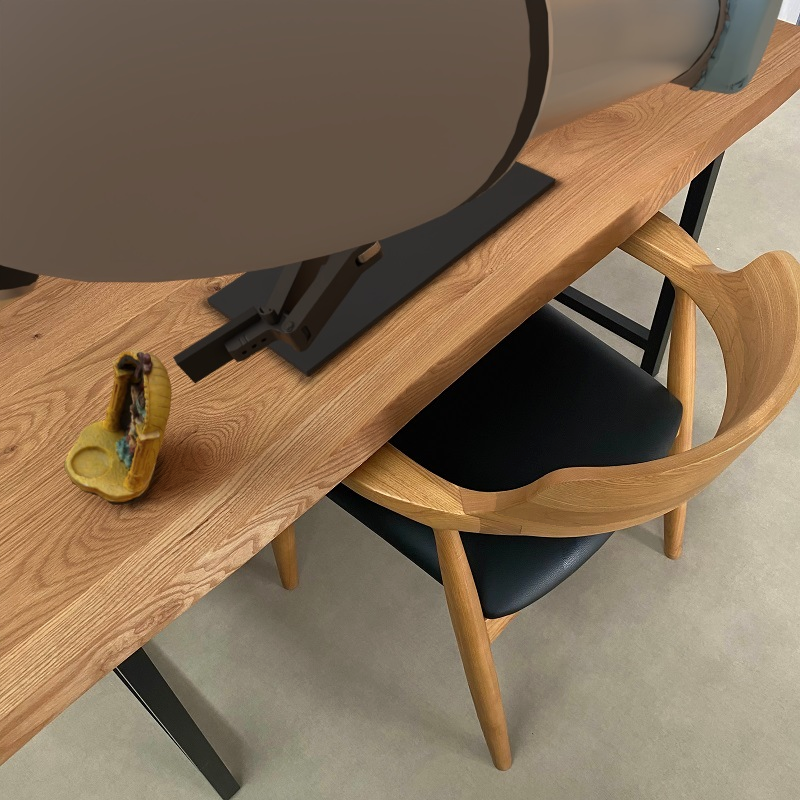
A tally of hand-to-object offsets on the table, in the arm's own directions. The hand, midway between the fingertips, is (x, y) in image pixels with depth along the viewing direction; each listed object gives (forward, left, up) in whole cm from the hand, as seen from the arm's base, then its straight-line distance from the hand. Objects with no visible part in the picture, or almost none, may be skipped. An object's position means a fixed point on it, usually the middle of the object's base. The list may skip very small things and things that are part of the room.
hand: (151, 309), depth 59 cm
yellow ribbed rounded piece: (-2, +6, -18) cm, 19 cm away
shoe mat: (+28, -17, -18) cm, 38 cm away
